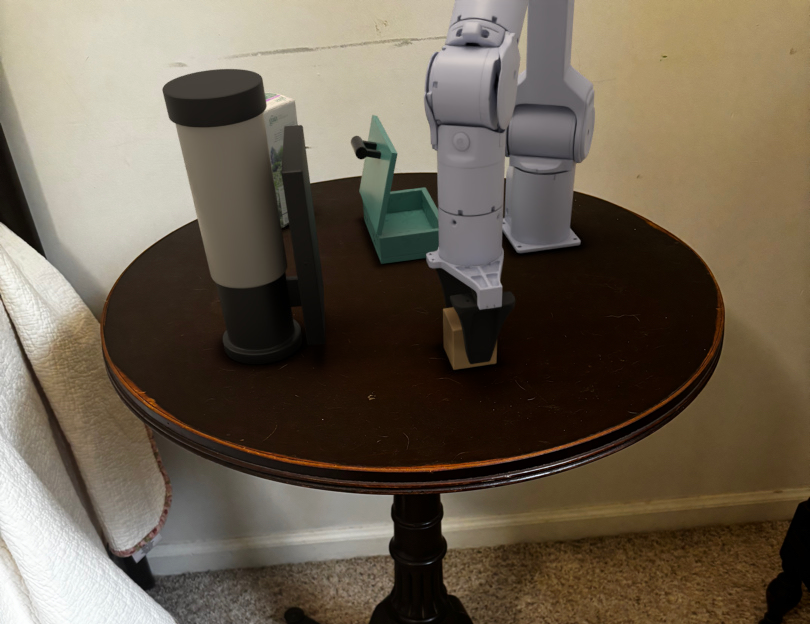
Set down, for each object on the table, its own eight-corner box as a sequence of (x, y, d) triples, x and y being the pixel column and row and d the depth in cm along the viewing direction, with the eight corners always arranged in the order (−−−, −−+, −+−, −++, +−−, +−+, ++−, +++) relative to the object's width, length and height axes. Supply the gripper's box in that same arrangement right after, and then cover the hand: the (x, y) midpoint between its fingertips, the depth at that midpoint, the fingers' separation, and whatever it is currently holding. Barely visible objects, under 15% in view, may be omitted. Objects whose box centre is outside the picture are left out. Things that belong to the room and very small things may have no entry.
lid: (377, 115, 97) (347, 110, 96) (397, 153, 88) (365, 147, 86) (364, 192, 103) (336, 188, 102) (381, 235, 94) (351, 231, 92)
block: (443, 347, 82) (442, 308, 79) (485, 341, 82) (485, 302, 79) (453, 370, 79) (453, 330, 76) (496, 363, 79) (497, 323, 76)
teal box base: (426, 211, 106) (425, 187, 104) (449, 254, 97) (449, 228, 95) (364, 219, 105) (362, 195, 103) (381, 264, 96) (379, 238, 94)
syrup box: (278, 206, 110) (259, 89, 100) (310, 214, 107) (295, 96, 97) (249, 221, 107) (227, 102, 97) (282, 230, 104) (262, 109, 94)
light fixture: (228, 318, 88) (171, 67, 71) (326, 309, 89) (294, 57, 71) (219, 378, 80) (152, 109, 62) (329, 368, 80) (292, 98, 63)
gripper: (409, 178, 75) (415, 311, 84) (444, 243, 64) (446, 386, 74) (483, 169, 75) (480, 302, 85) (529, 232, 65) (520, 375, 74)
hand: (469, 340), depth 79 cm, fingers open, 7 cm apart
